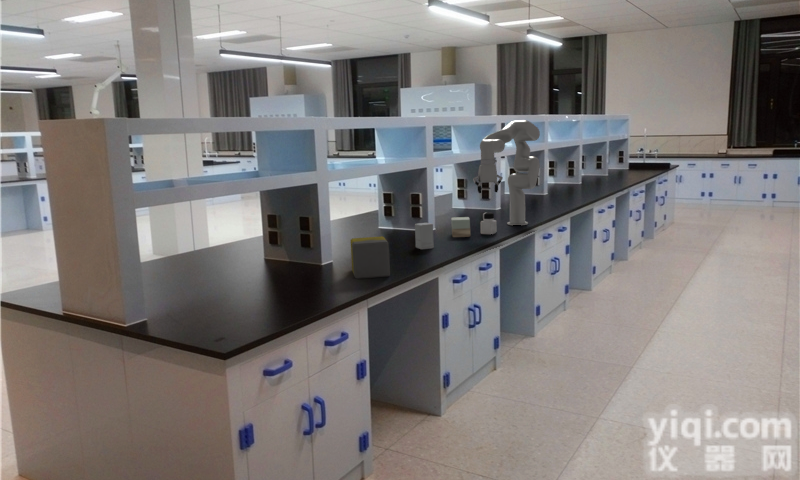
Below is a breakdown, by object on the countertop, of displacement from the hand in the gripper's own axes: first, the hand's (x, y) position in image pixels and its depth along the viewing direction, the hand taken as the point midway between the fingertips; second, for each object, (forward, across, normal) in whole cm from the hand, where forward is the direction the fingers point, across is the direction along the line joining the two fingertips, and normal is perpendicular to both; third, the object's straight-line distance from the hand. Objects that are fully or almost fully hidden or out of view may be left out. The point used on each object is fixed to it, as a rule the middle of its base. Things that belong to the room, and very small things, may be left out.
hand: (487, 192), depth 348 cm
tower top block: (+19, +16, 0) cm, 25 cm away
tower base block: (+24, +16, 0) cm, 29 cm away
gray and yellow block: (+25, +78, +72) cm, 109 cm away
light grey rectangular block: (+24, 0, 0) cm, 24 cm away
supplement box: (+24, +44, +28) cm, 57 cm away
